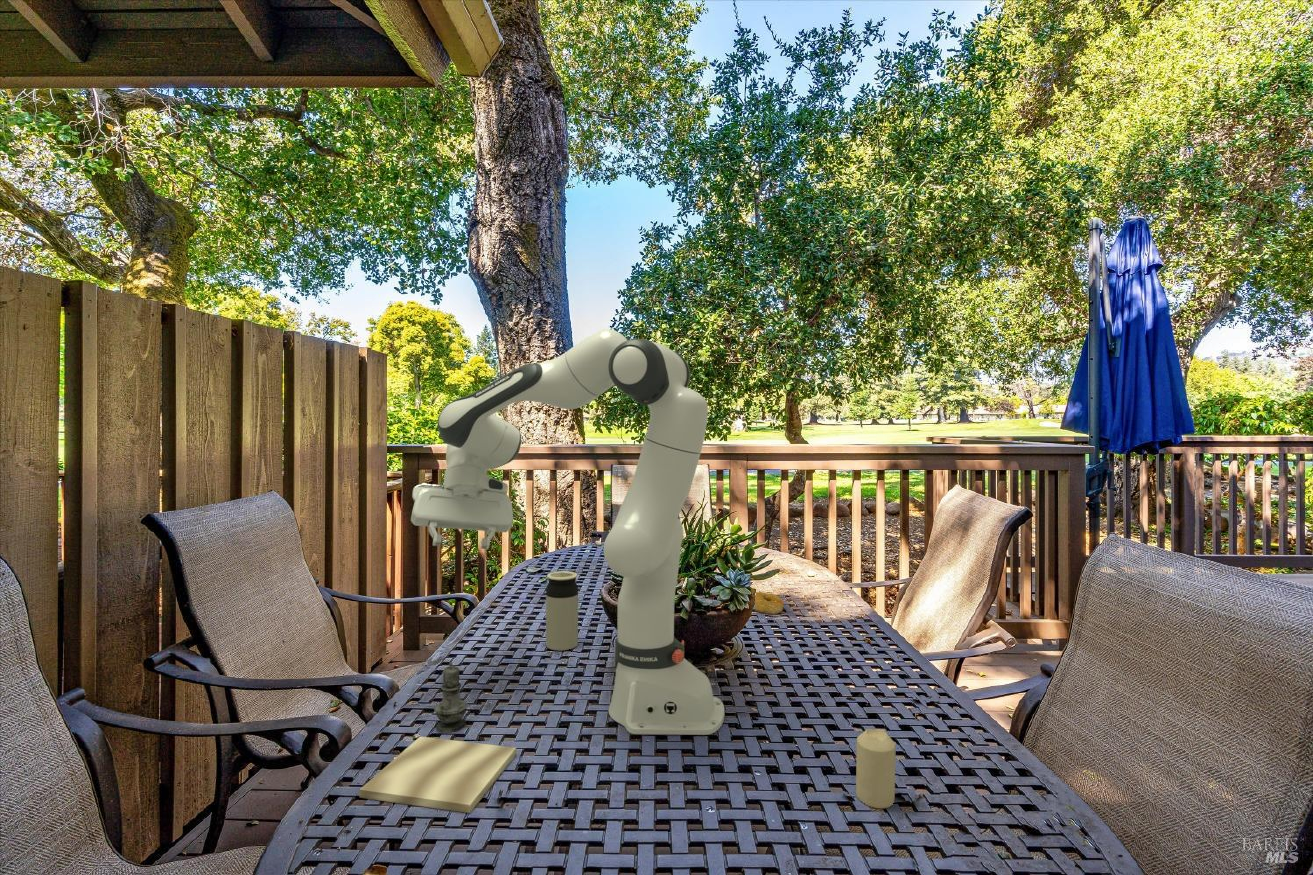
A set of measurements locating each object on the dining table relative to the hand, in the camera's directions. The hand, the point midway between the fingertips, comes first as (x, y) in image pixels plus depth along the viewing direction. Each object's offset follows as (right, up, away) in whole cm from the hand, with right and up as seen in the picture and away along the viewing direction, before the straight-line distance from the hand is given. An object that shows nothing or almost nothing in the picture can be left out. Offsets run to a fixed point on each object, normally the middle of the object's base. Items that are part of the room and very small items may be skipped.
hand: (461, 546), depth 126 cm
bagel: (+73, -30, +62) cm, 100 cm away
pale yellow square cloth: (+5, -32, -26) cm, 42 cm away
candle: (+72, -33, -32) cm, 86 cm away
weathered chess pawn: (+1, -32, -10) cm, 33 cm away
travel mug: (+16, -31, +31) cm, 46 cm away
